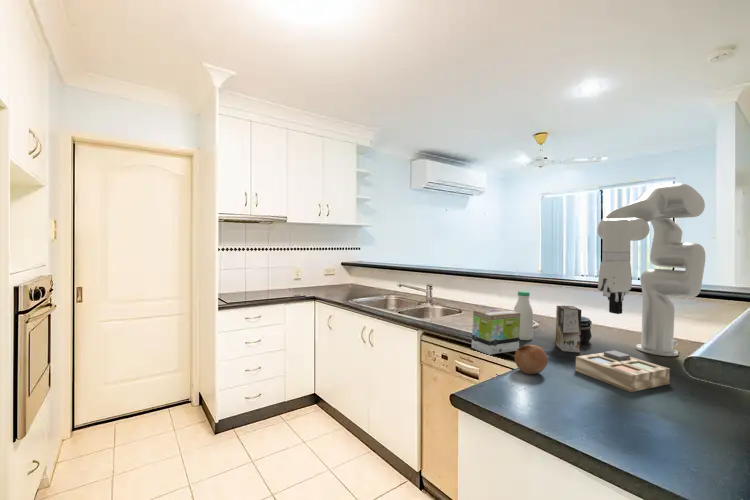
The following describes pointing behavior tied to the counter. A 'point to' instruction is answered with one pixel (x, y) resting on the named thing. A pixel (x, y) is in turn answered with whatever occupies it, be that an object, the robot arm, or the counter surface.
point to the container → (585, 331)
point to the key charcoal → (617, 355)
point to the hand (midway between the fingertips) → (615, 312)
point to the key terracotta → (625, 369)
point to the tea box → (495, 331)
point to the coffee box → (568, 328)
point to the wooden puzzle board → (623, 372)
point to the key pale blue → (601, 360)
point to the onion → (531, 359)
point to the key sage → (642, 366)
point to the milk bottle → (524, 315)
